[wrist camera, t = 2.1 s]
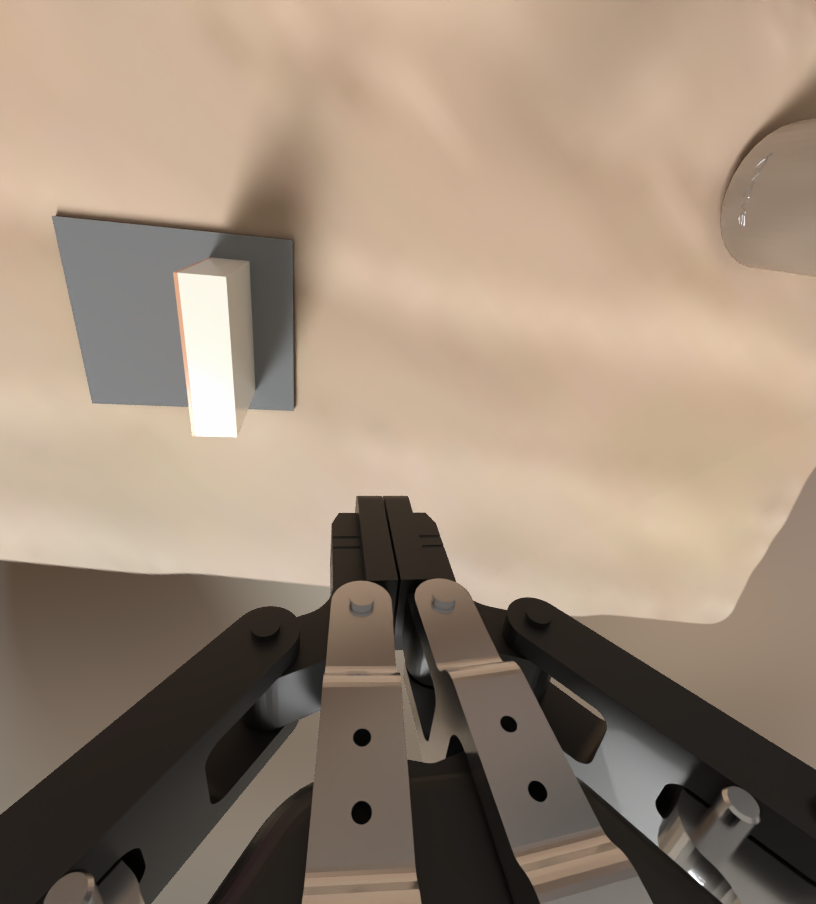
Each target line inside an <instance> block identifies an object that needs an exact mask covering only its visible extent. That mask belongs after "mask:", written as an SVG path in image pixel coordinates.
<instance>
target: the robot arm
mask: <svg viewBox="0 0 816 904" xmlns="http://www.w3.org/2000/svg"><path fill="white" fill-rule="evenodd" d="M721 234H722V238H723V241H724V245H725V247H726V249H727V250H728V252H729V254H730V255H731V257H733V258H734V259H735V260H736V261H737V262H739V263H740V264H743V265H745V266H748V267H752V268H759V269H766V270H773V271H780V272H787V273H793V274H799V275H806V276H813V277H816V118H812V119H807V120H802V121H796V122H793V123H790V124H787V125H785V126H782V127H780V128H778V129H777V130H775V131H773V132H772V133H770V134H768V135H767V136H766V137H765V138H764V139H762V140H761V141H760V142H759V143H758V144H757V145H756V146H754V148H753V149H752V150H751V151H750V152H749V153H748V155H747V156H746V157H745V158H744V159H743V161H742V162H741V164H740V166H739V167H738V169H737V170H736V172H735V174H734V175H733V177H732V180H731V182H730V184H729V186H728V189H727V191H726V194H725V198H724V202H723V205H722V212H721ZM330 589H331V596H330V598H329V600H328V601H327V602H326V603H325V604H324V605H323V606H322V607H320V608H319V609H318V610H316V611H314V612H311V613H309V614H305V615H302V616H299V617H296V616H295V615H294V614H293V613H292V612H290V611H288V610H286V609H284V608H281V607H273V606H268V607H261V608H257V609H255V610H252V611H250V612H248V613H246V614H245V615H243V616H242V617H241V618H239V619H238V620H237V621H236V622H235V623H233V624H232V625H231V626H230V627H229V628H227V629H226V630H225V631H224V632H222V633H221V634H220V635H219V636H218V637H216V638H215V639H214V640H213V641H211V642H210V643H209V644H208V645H207V646H206V647H204V648H203V649H202V650H201V651H199V652H198V653H197V654H196V655H194V656H193V657H192V658H191V659H190V660H188V661H187V662H186V663H185V664H183V665H182V666H181V667H180V668H179V669H177V670H176V671H175V672H174V673H173V674H172V675H170V676H169V677H168V678H166V679H165V680H164V681H163V682H162V683H160V684H159V685H158V686H157V687H155V688H154V689H153V690H152V691H151V692H149V693H148V694H147V695H146V696H145V697H143V698H142V699H141V700H140V701H138V702H137V703H136V704H135V705H134V706H132V707H131V708H130V709H129V710H127V711H126V712H125V713H124V714H123V715H121V716H120V717H119V718H118V719H117V720H115V721H114V722H113V723H112V724H111V725H110V726H108V727H107V728H106V729H105V730H103V731H102V732H101V733H99V734H98V735H97V736H96V737H95V738H93V739H92V740H91V741H90V742H89V743H87V744H86V745H85V746H84V747H82V748H81V749H80V750H79V751H78V752H77V753H75V754H74V755H73V756H72V757H70V758H69V759H68V760H67V761H65V762H64V763H63V764H62V765H61V766H59V767H58V768H57V769H56V770H54V771H53V772H52V773H51V774H50V775H48V776H47V777H46V778H45V779H43V780H42V781H41V782H40V783H39V784H37V785H36V786H35V787H34V788H33V789H31V790H30V791H29V792H28V793H27V794H25V795H24V796H23V797H22V798H20V799H19V800H18V801H17V802H15V803H14V804H13V805H12V806H11V807H9V808H8V809H7V810H6V811H5V812H3V813H2V814H1V815H0V904H151V903H152V902H153V901H154V899H155V898H156V897H157V896H158V895H159V893H160V892H161V891H162V890H163V888H164V887H165V886H166V885H167V884H168V882H169V881H170V880H171V879H172V877H173V876H174V875H175V874H176V872H177V871H178V870H179V869H180V868H181V867H182V865H183V864H184V863H185V861H186V860H187V859H188V858H189V857H190V856H191V854H192V853H193V852H194V851H195V850H196V848H197V847H198V846H199V845H200V843H201V842H202V841H203V840H204V839H205V837H206V836H207V835H208V833H210V831H211V830H212V829H213V828H214V826H215V825H216V824H217V823H218V822H219V820H220V819H221V818H222V817H223V815H224V814H225V813H226V812H227V811H228V809H229V808H230V807H231V806H232V805H233V803H234V802H235V801H236V800H237V798H238V797H239V796H240V795H241V794H242V792H243V791H244V790H245V789H246V787H247V786H248V785H249V784H250V783H251V781H252V780H253V779H254V778H255V777H256V775H257V774H258V773H259V772H260V770H261V769H262V768H263V767H264V765H265V764H266V763H267V762H268V760H269V759H270V758H271V757H272V755H274V753H275V752H276V751H277V750H278V749H279V747H280V746H281V745H282V744H283V742H284V741H285V740H286V739H287V738H288V736H289V735H290V734H291V733H292V731H293V730H294V729H295V727H296V725H297V723H298V721H299V719H302V718H304V717H306V716H309V715H311V714H314V713H316V712H318V711H320V720H319V731H318V741H317V752H316V763H315V774H314V782H312V783H310V784H309V785H307V786H305V787H303V788H302V789H300V790H298V791H297V792H296V793H294V794H293V795H292V796H290V797H289V798H288V799H286V800H285V801H284V802H283V803H282V804H281V805H280V806H279V807H278V808H277V809H276V810H275V811H274V812H273V813H272V814H271V815H270V817H269V818H268V819H267V820H266V821H265V823H264V824H263V825H262V826H261V828H260V829H259V830H258V832H257V833H256V835H255V836H254V837H253V839H252V840H251V842H250V843H249V845H248V846H247V847H246V849H245V850H244V852H243V853H242V855H241V856H240V858H239V859H238V860H237V862H236V863H235V865H234V866H233V868H232V869H231V870H230V872H229V873H228V875H227V876H226V878H225V879H224V880H223V882H222V883H221V885H220V886H219V888H218V889H217V891H216V892H215V893H214V895H213V896H212V898H211V899H210V901H209V902H208V903H207V904H816V770H815V769H813V768H812V767H810V766H809V765H807V764H805V763H804V762H802V761H801V760H799V759H797V758H796V757H794V756H792V755H791V754H789V753H788V752H786V751H784V750H783V749H781V748H780V747H778V746H777V745H775V744H773V743H772V742H770V741H768V740H767V739H765V738H764V737H762V736H760V735H759V734H757V733H756V732H754V731H753V730H751V729H749V728H748V727H746V726H744V725H743V724H741V723H740V722H738V721H737V720H735V719H733V718H732V717H730V716H729V715H727V714H725V713H724V712H722V711H721V710H719V709H717V708H716V707H714V706H713V705H711V704H709V703H707V702H706V701H704V700H703V699H701V698H700V697H698V696H697V695H695V694H693V693H692V692H690V691H689V690H687V689H685V688H684V687H682V686H680V685H679V684H677V683H676V682H674V681H672V680H671V679H669V678H667V677H666V676H665V675H663V674H661V673H660V672H658V671H656V670H655V669H653V668H651V667H650V666H649V665H647V664H645V663H644V662H642V661H641V660H639V659H637V658H636V657H634V656H633V655H631V654H629V653H628V652H626V651H625V650H623V649H621V648H620V647H618V646H616V645H615V644H613V643H612V642H610V641H609V640H607V639H605V638H604V637H602V636H601V635H599V634H597V633H596V632H594V631H593V630H591V629H589V628H588V627H586V626H585V625H583V624H581V623H579V622H578V621H576V620H575V619H573V618H572V617H570V616H569V615H567V614H565V613H564V612H562V611H560V610H559V609H557V608H556V607H554V606H552V605H551V604H549V603H547V602H545V601H543V600H540V599H536V598H528V597H526V598H520V599H517V600H515V601H513V602H512V603H511V604H510V605H509V607H508V610H503V609H498V608H494V607H489V606H485V605H482V604H479V603H477V602H475V601H473V600H472V597H471V595H470V594H469V592H468V591H467V590H466V589H465V588H464V587H463V586H461V585H460V584H458V583H456V580H455V577H454V574H453V572H452V569H451V566H450V563H449V560H448V557H447V554H446V551H445V548H444V547H443V543H442V540H441V537H440V534H439V531H438V528H437V525H436V523H435V522H434V521H433V520H432V519H431V518H430V517H429V516H428V515H427V514H426V513H413V512H412V508H411V505H410V501H409V498H408V496H383V497H382V496H357V498H356V509H355V513H339V514H338V515H337V517H336V518H335V520H334V521H333V523H332V531H331V558H330ZM395 650H403V651H404V657H405V664H404V671H403V679H404V683H405V688H406V691H407V695H408V700H409V704H410V708H411V712H412V716H413V719H414V724H415V728H416V732H417V736H418V740H419V744H420V748H421V753H422V762H418V761H412V760H407V749H406V736H405V723H404V709H403V696H402V683H401V676H400V673H397V671H396V659H395ZM551 677H553V678H554V679H556V680H557V681H558V682H560V683H561V684H563V685H564V686H565V687H567V688H568V689H570V690H571V691H572V692H574V693H575V694H576V695H578V696H579V697H580V698H582V699H583V700H585V701H586V702H587V703H589V704H590V705H591V706H593V707H594V708H596V709H597V710H598V711H599V712H600V713H601V714H602V716H603V717H604V719H605V721H604V720H602V719H600V718H598V717H597V716H596V715H594V714H593V713H591V712H590V711H589V710H587V709H586V708H584V707H583V706H582V705H580V704H579V703H578V702H576V701H575V700H573V699H572V698H571V697H570V696H568V695H567V694H566V693H564V692H563V691H561V690H560V689H559V688H557V687H556V686H555V685H553V684H552V683H550V679H551Z"/></svg>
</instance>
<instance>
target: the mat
mask: <svg viewBox="0 0 816 904" xmlns="http://www.w3.org/2000/svg"><path fill="white" fill-rule="evenodd" d="M52 219H53V224H54V228H55V233H56V237H57V242H58V247H59V251H60V256H61V261H62V265H63V270H64V274H65V279H66V284H67V288H68V293H69V298H70V302H71V307H72V311H73V316H74V321H75V325H76V330H77V335H78V339H79V344H80V348H81V353H82V358H83V362H84V367H85V372H86V376H87V381H88V385H89V390H90V395H91V399H92V403H98V404H125V405H152V406H179V407H189V404H188V396H187V387H186V379H185V370H184V362H183V353H182V345H181V336H180V328H179V319H178V310H177V302H176V293H175V285H174V276H173V272H175V271H177V270H180V269H182V268H184V267H187V266H189V265H192V264H194V263H196V262H199V261H201V260H204V259H206V258H208V257H212V258H223V259H234V260H245V261H249V262H250V283H251V304H252V325H253V347H254V368H255V389H256V391H255V393H254V396H253V398H252V401H251V403H250V406H249V409H259V410H286V411H294V339H293V240H288V239H278V238H268V237H258V236H248V235H239V234H229V233H219V232H209V231H199V230H190V229H180V228H170V227H160V226H150V225H140V224H131V223H121V222H111V221H101V220H91V219H81V218H72V217H62V216H52Z"/></svg>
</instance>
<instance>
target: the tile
mask: <svg viewBox="0 0 816 904" xmlns="http://www.w3.org/2000/svg"><path fill="white" fill-rule="evenodd" d="M173 276H174V285H175V293H176V302H177V310H178V319H179V328H180V336H181V345H182V353H183V362H184V370H185V379H186V387H187V396H188V404H189V413H190V421H191V430H192V436H213V437H237V436H238V434H239V431H240V429H241V426H242V424H243V421H244V419H245V416H246V414H247V411H248V409H249V406H250V403H251V401H252V398H253V396H254V393H255V391H256V389H255V368H254V347H253V325H252V304H251V283H250V262H249V261H245V260H234V259H223V258H212V257H208V258H206V259H204V260H201V261H199V262H196V263H194V264H192V265H189V266H187V267H184V268H182V269H180V270H177V271H175V272H173Z"/></svg>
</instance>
